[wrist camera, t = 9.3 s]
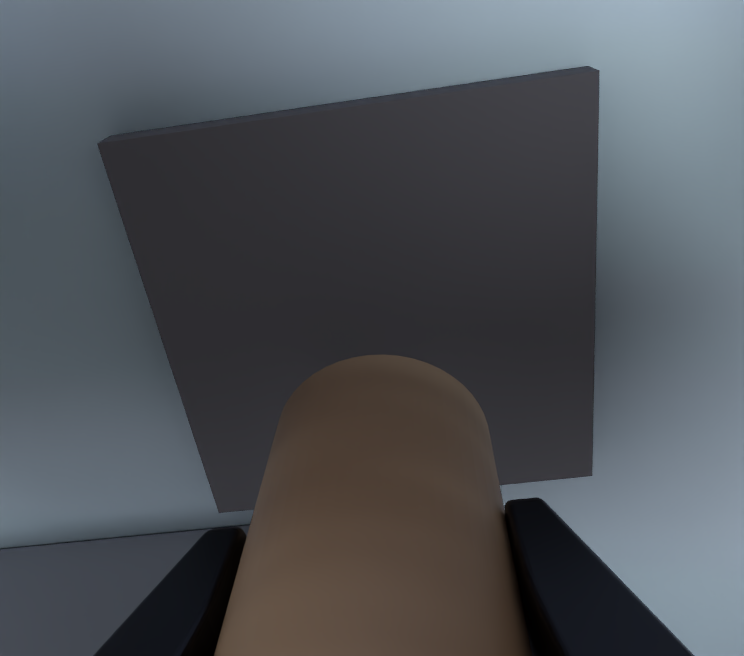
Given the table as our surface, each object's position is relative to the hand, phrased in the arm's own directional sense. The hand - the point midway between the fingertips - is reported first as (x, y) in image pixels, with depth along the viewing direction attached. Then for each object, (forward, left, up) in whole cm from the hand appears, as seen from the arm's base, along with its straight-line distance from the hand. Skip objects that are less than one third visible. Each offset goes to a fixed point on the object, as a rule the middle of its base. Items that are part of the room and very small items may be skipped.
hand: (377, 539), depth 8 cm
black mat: (0, 0, -6) cm, 6 cm away
